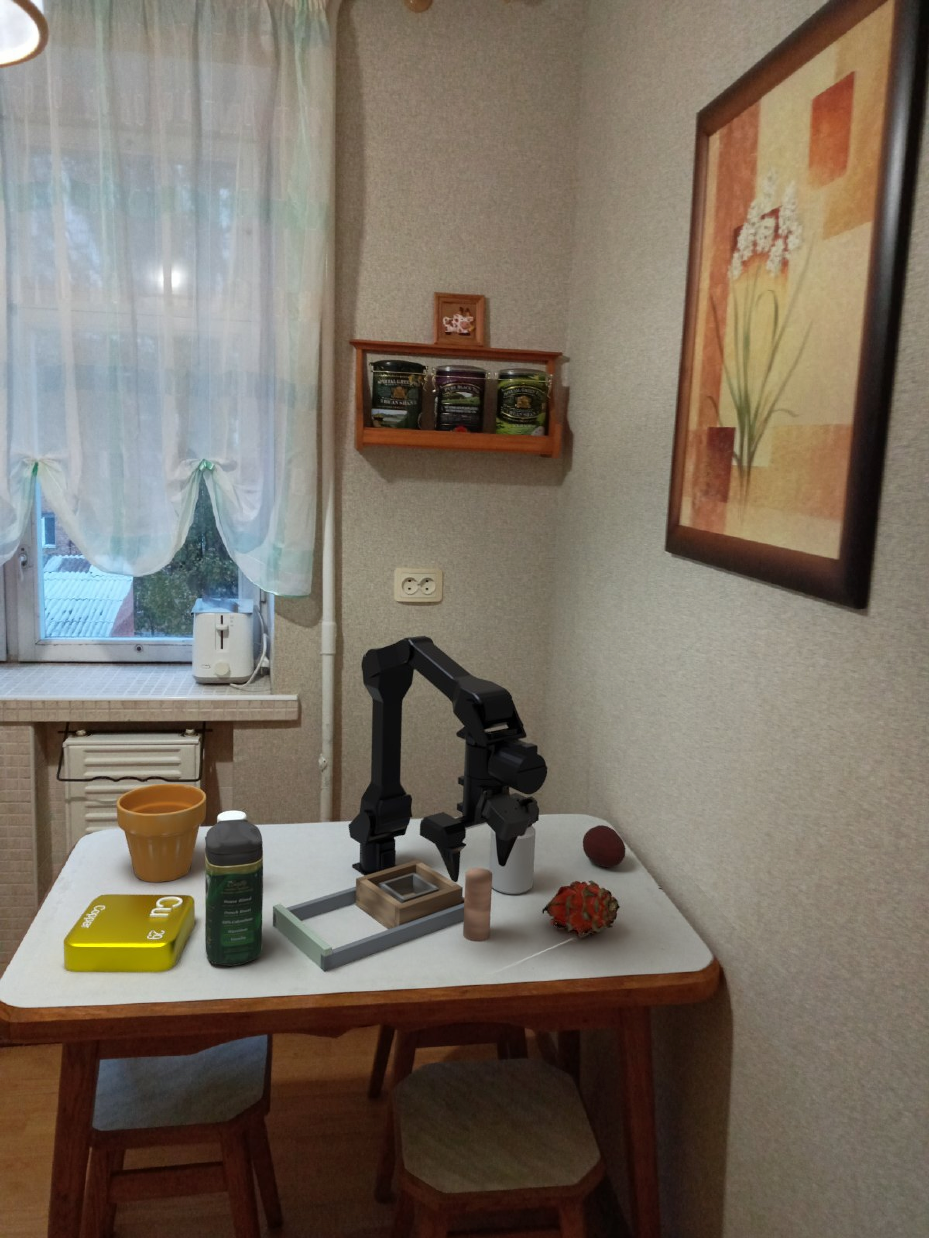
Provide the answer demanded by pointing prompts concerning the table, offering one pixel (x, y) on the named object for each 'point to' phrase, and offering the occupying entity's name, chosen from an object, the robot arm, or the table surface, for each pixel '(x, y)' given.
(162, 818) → the flower pot
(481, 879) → the handle peg
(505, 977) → the table surface
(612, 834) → the passion fruit
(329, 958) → the bay
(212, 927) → the green labelled bottle
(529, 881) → the can
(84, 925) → the element tile
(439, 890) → the crate
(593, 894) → the dragon fruit
